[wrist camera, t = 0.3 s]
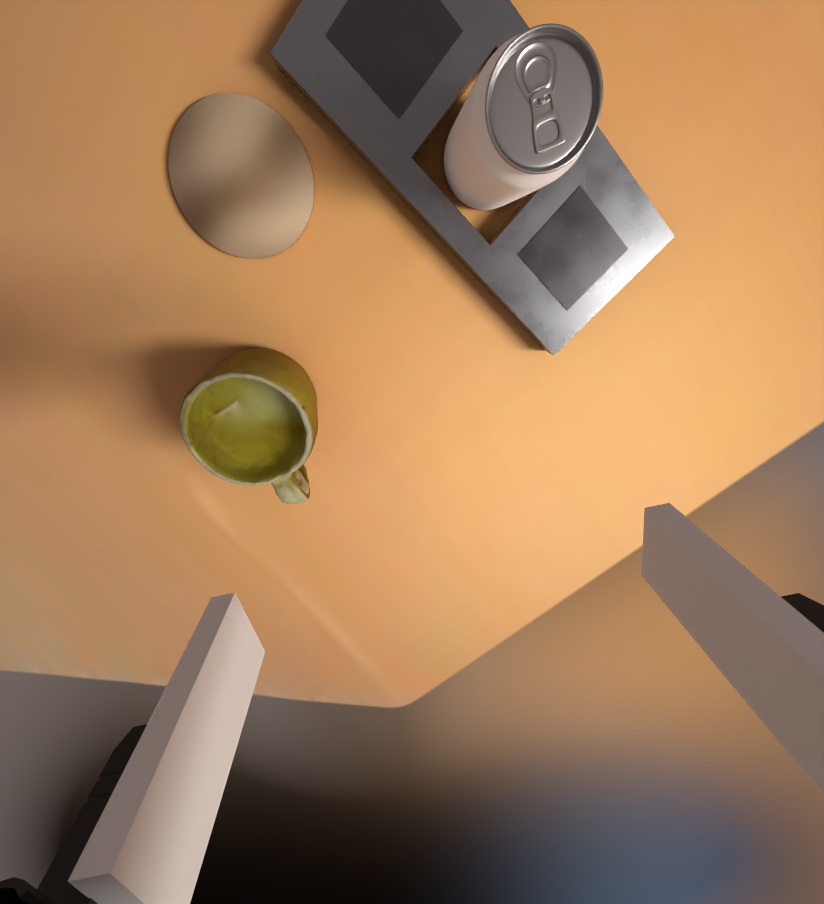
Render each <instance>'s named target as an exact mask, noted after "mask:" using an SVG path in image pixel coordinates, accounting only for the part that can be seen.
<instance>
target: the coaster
mask: <svg viewBox="0 0 824 904" xmlns="http://www.w3.org/2000/svg"><path fill="white" fill-rule="evenodd" d="M168 165H169V176H170V181H171V186H172V189H173V192H174V195H175V198H176V200H177V202H178V205H179V207H180V209H181V210H182V212H183V214H184V216H185V217H186V219H187V220H188V222H189V223H190V224H191V226H192V227H193V228H194V229H195V230H196V231H197V232H198V233H199V234H200V235H201V236H202V237H203V238H204V239H205V240H206V241H208V242H209V243H210V244H212V245H213V246H215V247H216V248H218V249H220V250H221V251H224V252H226V253H228V254H230V255H234V256H237V257H242V258H248V259H260V258H267V257H271V256H275V255H277V254H279V253H281V252H283V251H285V250H286V249H288V248H289V247H290V246H292V245H293V244H294V243H295V242H296V241H297V240H298V238H299V237H300V236H301V235H302V233H303V232H304V230H305V228H306V226H307V224H308V222H309V220H310V216H311V213H312V209H313V203H314V178H313V173H312V168H311V164H310V161H309V158H308V155H307V153H306V150H305V148H304V146H303V144H302V142H301V141H300V139H299V137H298V136H297V134H296V133H295V131H294V130H293V128H292V127H291V126H290V125H289V124H288V122H287V121H286V120H285V119H284V118H283V117H282V116H281V115H280V114H279V113H278V112H277V111H275V110H274V109H273V108H271V107H270V106H268V105H267V104H265V103H263V102H262V101H260V100H258V99H256V98H253V97H250V96H247V95H243V94H239V93H218V94H214V95H210V96H207V97H205V98H203V99H201V100H199V101H197V102H196V103H195V104H193V105H192V106H191V107H190V108H189V109H188V110H187V111H186V112H185V113H184V114H183V115H182V117H181V118H180V120H179V121H178V123H177V125H176V127H175V129H174V132H173V135H172V138H171V142H170V147H169V158H168Z"/></svg>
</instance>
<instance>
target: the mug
mask: <svg viewBox="0 0 824 904" xmlns="http://www.w3.org/2000/svg"><path fill="white" fill-rule="evenodd" d="M180 426H181V432H182V436H183V439H184V441H185V443H186V445H187V447H188V449H189V451H190V452H191V453H192V454H193V456H194V457H195V458H196V459H197V460H198V461H199V463H201V464H202V465H203V466H204V467H205V468H206V469H207V470H209V471H210V472H211V473H212V474H214V475H216V476H217V477H219V478H221V479H224V480H227V481H229V482H232V483H235V484H241V485H259V484H269V483H271V484H272V485H273V487H274V489H275V492H276V494H277V496H278V497H279V498H280V499H281V501H282V502H284V503H287V504H295V503H299V502H303V501H307V500H308V499H309V496H310V488H309V481H308V477H307V473H306V468H305V466H304V465H303V464H304V463H305V462H306V460H307V459H308V457H309V455H310V453H311V451H312V449H313V446H314V443H315V439H316V435H317V430H318V417H317V397H316V392H315V388H314V386H313V384H312V382H311V380H310V378H309V376H308V374H307V373H306V371H305V370H304V369H303V368H302V367H301V365H299V364H298V363H297V362H296V361H294V360H293V359H292V358H290V357H289V356H287V355H285V354H282V353H280V352H277V351H275V350H270V349H265V348H252V349H246V350H242V351H239V352H237V353H234V354H233V355H231V356H229V357H228V358H226V359H225V360H223V361H222V362H221V363H220V364H219V365H218V366H217V367H216V368H215V369H213V370H212V371H211V372H209V373H208V374H206V375H205V376H204V377H203V378H202V379H201V380H200V381H199V382H197V384H196V385H195V386H194V387H193V388H192V389H191V390H190V391H189V392H188V393H187V394H186V396H185V397H184V400H183V403H182V406H181V410H180Z"/></svg>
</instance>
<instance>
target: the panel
mask: <svg viewBox="0 0 824 904" xmlns="http://www.w3.org/2000/svg"><path fill="white" fill-rule="evenodd" d="M528 29H530V28H529V27H528V26H527V24H526V23H525V21H524V20H523V18H522V17H521V16H520V14H519V13H518V11H517V10H516V8H515V7H514V6H513V4H512V3H511V1H510V0H302V1H301V2H300V4H299V6H298V7H297V9H296V11H295V12H294V14H293V16H292V17H291V19H290V21H289V22H288V24H287V25H286V27H285V29H284V30H283V32H282V34H281V35H280V37H279V39H278V40H277V42H276V43H275V45H274V47H273V48H272V50H271V52H270V54H271V56H272V58H273V59H274V61H275V63H276V65H277V67H278V68H279V69H280V70H281V71H282V72H283V73H284V74H285V75H286V76H287V77H288V78H289V79H290V81H291V82H292V83H293V84H294V85H295V86H296V87H297V88H298V89H299V90H300V91H301V92H302V93H303V94H304V95H305V96H306V98H307V99H308V100H309V101H310V102H311V103H312V104H313V105H314V106H315V107H316V108H317V109H318V110H319V111H320V112H321V113H322V114H323V116H324V117H325V118H326V119H327V120H328V121H329V122H330V123H331V124H332V125H333V126H334V127H335V128H336V129H337V130H338V131H339V132H340V134H341V135H342V136H343V137H344V138H345V139H346V140H347V141H348V142H349V143H350V144H351V145H352V146H353V147H354V148H355V149H356V151H357V152H358V153H359V154H360V155H361V156H362V157H363V158H364V159H365V160H366V161H367V162H368V163H369V164H370V165H371V166H372V167H373V169H374V170H375V171H376V172H377V173H378V174H379V175H380V176H381V177H382V178H383V179H384V180H385V181H386V182H387V183H388V184H389V185H390V187H391V188H392V189H393V190H394V191H395V192H396V193H397V194H398V195H399V196H400V197H401V198H402V199H403V200H404V201H405V202H406V204H407V205H408V206H409V207H410V208H411V209H412V210H413V211H414V212H415V213H416V214H417V215H418V216H419V217H420V218H421V219H422V220H423V222H424V223H425V224H426V225H427V226H428V227H429V228H430V229H431V230H432V231H433V232H434V233H435V234H436V235H437V236H438V237H439V238H440V240H441V241H442V242H443V243H444V244H445V245H446V246H447V247H448V248H449V249H450V250H451V251H452V252H453V253H454V254H455V255H456V257H457V258H458V259H459V260H460V261H461V262H462V263H463V264H464V265H465V266H466V267H467V268H468V269H469V270H470V271H471V272H472V273H473V275H474V276H475V277H476V278H477V279H478V280H479V281H480V282H481V283H482V284H483V285H484V286H485V287H486V288H487V289H488V290H489V291H490V293H491V294H492V295H493V296H494V297H495V298H496V299H497V300H498V301H499V302H500V303H501V304H502V305H503V306H504V307H505V308H506V310H507V311H508V312H509V313H510V314H511V315H512V316H513V317H514V318H515V319H516V320H517V321H518V322H519V323H520V324H521V325H522V326H523V328H524V329H525V330H526V331H527V332H528V333H529V334H530V335H531V336H532V337H533V338H534V339H535V340H536V341H537V342H538V343H539V344H540V346H541V347H542V348H543V349H544V350H545V351H547V352H549V353H550V354H552V355H555V354H556V353H557V352H558V351H559V350H560V349H561V348H562V347H563V346H564V345H565V344H566V343H567V342H568V341H569V340H570V339H571V338H572V337H573V336H574V335H575V334H576V333H577V332H578V331H579V330H580V329H581V328H582V327H583V326H584V325H585V324H586V323H587V322H588V321H589V320H590V319H591V318H592V317H593V316H594V315H595V314H596V313H597V312H598V311H599V310H600V309H602V308H603V307H604V306H605V305H606V304H607V303H608V302H609V301H610V300H611V299H612V298H613V297H614V296H615V295H616V294H617V293H618V292H619V291H620V290H621V289H622V288H623V287H624V286H625V285H626V284H627V283H628V282H629V281H630V280H631V279H632V278H633V277H634V276H635V275H636V274H637V273H638V272H639V271H640V270H641V269H642V268H643V267H644V266H645V265H646V264H647V263H648V262H649V261H650V260H651V259H652V258H653V257H654V256H655V255H656V254H657V253H658V252H659V251H660V250H661V249H662V248H663V247H664V246H665V245H666V244H667V243H669V242H670V241H671V240H672V239H673V238H674V237H675V236H674V234H673V233H672V232H671V230H670V229H669V227H668V226H667V224H666V223H665V222H664V220H663V219H662V217H661V216H660V214H659V213H658V212H657V210H656V209H655V207H654V206H653V204H652V203H651V202H650V200H649V199H648V197H647V196H646V194H645V193H644V191H643V190H642V189H641V187H640V186H639V184H638V183H637V181H636V180H635V179H634V177H633V176H632V174H631V173H630V171H629V170H628V169H627V167H626V166H625V164H624V163H623V161H622V160H621V159H620V157H619V156H618V154H617V153H616V151H615V150H614V149H613V147H612V146H611V144H610V143H609V141H608V140H607V139H606V137H605V136H604V134H603V133H602V131H601V130H600V129H599V127H598V126H597V125H596V128H595V130H594V132H593V134H592V136H591V138H590V140H589V141H588V143H587V144H586V146H585V148H584V149H583V151H582V153H581V154H580V156H579V157H578V159H577V160H576V162H575V163H574V164H573V165H572V166H571V167H570V168H569V169H568V170H567V171H566V172H565V173H564V174H563V175H562V176H560V177H559V178H558V179H556V180H555V181H553V182H551V183H550V184H548V185H546V186H544V187H542V188H540V189H538V190H536V191H534V192H532V193H531V194H530V195H529V196H528V197H527V198H526V199H525V201H524V202H523V203H522V204H521V205H520V206H519V207H518V209H517V210H516V211H515V212H514V213H513V214H512V216H511V217H510V218H509V219H508V220H507V221H506V222H505V224H504V225H503V226H502V227H501V228H500V229H499V230H498V232H497V233H496V234H495V235H494V236H493V237H492V238H491V240H490V241H489V242H487V241H486V240H485V239H484V238H483V237H482V236H481V235H480V234H479V232H478V231H477V230H476V229H475V228H474V227H473V226H472V225H471V223H470V222H469V221H468V220H467V219H466V218H465V217H464V216H463V215H462V213H461V212H460V211H459V210H458V209H457V208H456V207H455V206H454V205H453V203H452V202H451V201H450V200H449V199H448V198H447V197H446V196H445V195H444V193H443V192H442V191H441V190H440V189H439V188H438V187H437V186H436V184H435V183H434V182H433V181H432V180H431V179H430V178H429V177H428V176H427V174H426V173H425V172H424V171H423V170H422V169H421V168H420V167H419V166H418V164H417V163H416V162H415V161H414V160H413V158H414V157H415V156H416V154H417V153H418V152H419V151H420V149H421V148H422V147H423V145H424V144H425V143H426V141H427V140H428V139H429V137H430V136H431V135H432V133H433V132H434V131H435V130H436V128H437V127H438V126H439V124H440V123H441V122H442V120H443V119H444V118H445V116H446V115H447V114H448V113H449V111H450V110H451V109H452V107H453V106H454V105H455V103H456V102H457V101H458V99H459V98H460V97H461V95H462V94H463V93H464V92H465V90H466V89H467V88H468V86H469V85H470V84H471V82H472V81H473V80H474V78H475V77H476V76H477V75H478V73H479V72H480V71H481V69H482V68H483V67H484V65H485V64H486V63H487V61H488V60H489V58H490V57H491V56H492V55H493V54H494V53H495V51H496V50H497V49H498V48H499V47H500V46H501V45H503V44H504V43H505V42H506V41H508V40H509V39H511V38H512V37H514V36H516V35H518V34H520V33H523V32H524V31H526V30H528Z"/></svg>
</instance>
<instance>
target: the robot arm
mask: <svg viewBox="0 0 824 904" xmlns="http://www.w3.org/2000/svg"><path fill="white" fill-rule="evenodd" d="M642 577H643V578H644V579H645V580H646V582H647V583H648V584H649V585H650V586H651V587H652V589H653V590H654V591H655V592H656V594H657V595H658V596H659V597H660V599H662V601H663V602H664V603H665V605H666V606H667V607H668V608H669V609H670V611H671V612H672V613H673V614H674V615H675V617H676V618H677V619H678V620H679V621H680V623H681V624H682V625H683V626H684V628H685V629H686V630H687V631H688V632H689V634H690V635H691V636H692V637H693V638H694V640H695V641H696V642H697V643H698V644H699V646H700V647H701V648H702V649H703V651H704V652H705V653H706V654H707V655H708V656H709V658H710V659H711V660H712V661H713V662H714V664H715V665H716V666H717V667H718V669H719V670H720V671H721V672H722V673H723V675H724V676H725V677H726V678H727V679H728V681H729V682H730V683H731V684H732V686H733V687H734V688H735V689H736V690H737V692H738V693H739V694H740V695H741V697H742V698H743V699H744V700H745V701H746V702H747V704H748V705H749V706H750V707H751V709H752V710H753V711H754V712H755V713H756V714H757V716H758V717H759V718H760V719H761V720H762V722H763V723H764V724H765V726H766V727H767V728H768V729H769V730H770V732H771V733H772V734H773V735H774V736H775V738H776V739H777V740H778V741H779V742H780V744H781V745H782V746H783V747H784V748H785V750H786V751H787V752H788V753H789V755H790V756H791V757H792V758H793V759H794V761H795V762H796V763H797V764H798V765H799V766H800V768H801V769H802V770H803V771H804V773H805V774H806V775H807V776H808V778H809V779H810V780H811V781H812V782H813V784H815V786H816V787H817V788H818V790H819V791H820V792H821V793H822V795H824V606H823V605H822V604H820V603H817V602H815V601H813V600H812V599H809V598H807V597H805V596H803V595H801V594H799V593H797V594H792V595H787V596H782V597H780V596H779V595H778V594H777V593H776V592H775V591H773V590H772V589H771V588H770V587H768V586H767V585H766V584H765V583H764V582H763V581H761V580H760V579H759V578H758V577H756V575H754V574H753V573H752V572H751V571H750V570H748V569H747V568H746V567H745V566H744V565H742V564H741V563H740V562H739V561H737V560H736V559H735V558H734V557H733V556H732V555H731V554H729V553H728V552H727V551H726V550H725V549H723V548H722V547H721V546H719V544H717V543H716V542H715V541H714V540H713V539H711V538H710V537H709V536H708V535H707V534H705V533H704V532H703V531H702V530H701V529H700V528H698V527H697V526H696V525H695V524H694V523H692V522H691V521H690V520H689V519H688V518H687V517H685V516H684V515H683V514H682V513H681V512H679V511H678V510H677V509H676V508H675V507H673V506H672V505H671V504H670V503H667V504H662V505H657V506H652V507H647V508H645V512H644V533H643V555H642ZM264 654H265V650H264V648H263V647H262V645H261V643H260V641H259V639H258V637H257V635H256V633H255V631H254V629H253V627H252V625H251V623H250V621H249V619H248V617H247V615H246V613H245V612H244V610H243V608H242V606H241V604H240V602H239V600H238V598H237V596H236V594H235V593H231V594H226V595H221V596H216V597H212V598H211V600H210V602H209V604H208V605H207V607H206V609H205V611H204V613H203V615H202V617H201V619H200V621H199V623H198V625H197V627H196V629H195V631H194V633H193V635H192V637H191V639H190V641H189V643H188V645H187V647H186V649H185V651H184V653H183V655H182V657H181V659H180V661H179V663H178V665H177V667H176V669H175V671H174V673H173V675H172V677H171V678H170V680H169V682H168V684H167V686H166V688H165V690H164V692H163V694H162V697H161V698H160V700H159V702H158V704H157V706H156V708H155V710H154V712H153V714H152V716H151V718H150V720H149V722H148V724H146V725H141V726H136V727H133V728H132V729H131V731H130V732H129V733H128V734H127V735H126V736H125V737H124V739H123V740H122V741H121V742H120V743H119V745H118V746H117V747H116V748H115V749H114V751H113V752H112V754H111V756H110V758H109V760H108V761H107V763H106V765H105V767H104V769H103V771H102V772H101V774H100V779H99V781H96V783H95V785H94V787H93V789H92V791H91V792H90V794H89V796H88V801H87V803H85V804H84V805H83V807H82V809H81V811H80V813H79V814H78V816H77V818H76V820H75V822H74V824H73V825H72V828H71V829H70V831H69V833H68V834H67V836H66V838H65V840H64V842H63V844H62V845H61V847H60V849H59V851H58V853H57V854H56V856H55V858H54V860H53V862H52V863H51V865H50V867H49V869H48V871H47V873H46V874H45V876H44V878H43V880H42V882H41V884H40V885H39V887H38V889H35V888H34V887H33V886H31V885H30V884H29V883H27V882H26V881H25V880H22V879H18V878H15V877H13V878H10V879H7V880H4V881H1V882H0V904H190V901H191V898H192V894H193V891H194V887H195V884H196V881H197V878H198V874H199V871H200V868H201V864H202V861H203V858H204V854H205V851H206V848H207V844H208V841H209V838H210V834H211V831H212V827H213V824H214V821H215V818H216V814H217V811H218V808H219V804H220V801H221V798H222V794H223V791H224V787H225V784H226V781H227V778H228V774H229V771H230V768H231V764H232V761H233V758H234V754H235V751H236V747H237V744H238V740H239V737H240V734H241V731H242V727H243V724H244V721H245V717H246V714H247V711H248V707H249V704H250V701H251V697H252V694H253V691H254V687H255V684H256V681H257V677H258V674H259V671H260V667H261V664H262V661H263V657H264Z"/></svg>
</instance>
